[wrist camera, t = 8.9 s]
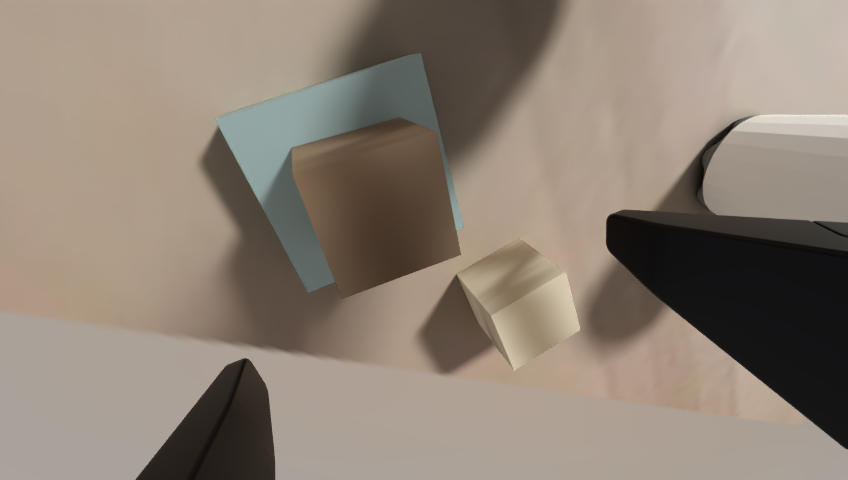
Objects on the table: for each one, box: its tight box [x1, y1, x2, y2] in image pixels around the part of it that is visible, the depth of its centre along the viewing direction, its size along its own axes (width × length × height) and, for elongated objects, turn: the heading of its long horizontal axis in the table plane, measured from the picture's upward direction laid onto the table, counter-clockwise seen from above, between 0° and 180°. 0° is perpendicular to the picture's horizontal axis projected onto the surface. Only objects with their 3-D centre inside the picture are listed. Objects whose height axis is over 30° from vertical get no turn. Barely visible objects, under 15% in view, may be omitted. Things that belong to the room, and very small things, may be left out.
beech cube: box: [456, 238, 580, 370], centre depth 24 cm, size 5×5×5 cm
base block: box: [215, 53, 464, 293], centre depth 19 cm, size 9×9×3 cm
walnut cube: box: [292, 117, 461, 299], centre depth 15 cm, size 5×5×5 cm
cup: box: [697, 115, 848, 222], centre depth 23 cm, size 10×10×13 cm
